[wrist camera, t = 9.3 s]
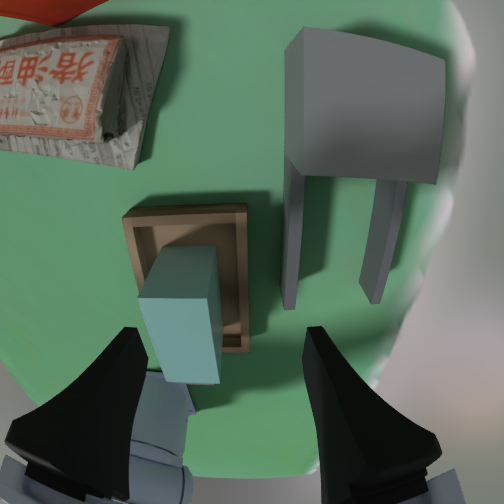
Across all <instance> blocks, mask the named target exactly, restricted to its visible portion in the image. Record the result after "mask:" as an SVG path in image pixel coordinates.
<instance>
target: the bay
mask: <svg viewBox="0 0 504 504" xmlns="http://www.w3.org/2000/svg"><path fill="white" fill-rule="evenodd" d="M444 111H445V60H443V59H441V58H438V57H435V56H433V55H430V54H427V53H424V52H421V51H418V50H415V49H412V48H409V47H405V46H402V45H398V44H395V43H391V42H387V41H383V40H379V39H375V38H371V37H366V36H361V35H356V34H351V33H346V32H340V31H333V30H326V29H318V28H309V27H303V28H302V29H301V30H300V32H299V33H298V34H297V35H296V37H295V38H294V39H293V40H292V42H291V43H290V44H289V45H288V47H287V48H286V49H285V151H284V193H283V223H282V248H281V269H280V290H281V296H282V302H283V308H284V310H295V304H296V294H297V284H298V273H299V262H300V250H301V237H302V223H303V208H304V191H305V176H333V177H354V178H370V179H377V183H376V190H375V198H374V204H373V211H372V217H371V223H370V229H369V235H368V240H367V246H366V251H365V256H364V261H363V266H362V270H361V275H360V279H359V283H360V285H361V287H362V289H363V291H364V292H365V294H366V296H367V298H368V300H369V302H370V304H380V301H381V298H382V295H383V291H384V288H385V285H386V281H387V277H388V274H389V270H390V266H391V262H392V258H393V254H394V250H395V246H396V242H397V237H398V233H399V228H400V223H401V218H402V213H403V208H404V202H405V197H406V191H407V184H408V182H417V183H426V184H435V185H436V182H437V175H438V169H439V162H440V155H441V146H442V137H443V126H444Z"/></svg>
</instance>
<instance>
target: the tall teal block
mask: <svg viewBox="0 0 504 504" xmlns="http://www.w3.org/2000/svg"><path fill="white" fill-rule="evenodd" d="M137 299H138V302H139V305H140V308H141V312H142V315H143V318H144V321H145V324H146V327H147V330H148V333H149V336H150V339H151V342H152V345H153V347H154V350H155V353H156V356H157V358H158V361H159V364H160V366H161V369H162V372H163V374H164V377H165V379H166V381H167V382H179V384H191V385H214V384H220V374H221V358H222V343H223V329H224V326H223V317H222V307H221V297H220V286H219V275H218V264H217V252H216V245H210V246H171V247H162V248H161V250H160V252H159V254H158V256H157V258H156V260H155V262H154V264H153V266H152V268H151V270H150V272H149V274H148V276H147V278H146V280H145V282H144V285H143V287H142V289H141V291H140V293H139V295H138V298H137Z"/></svg>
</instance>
